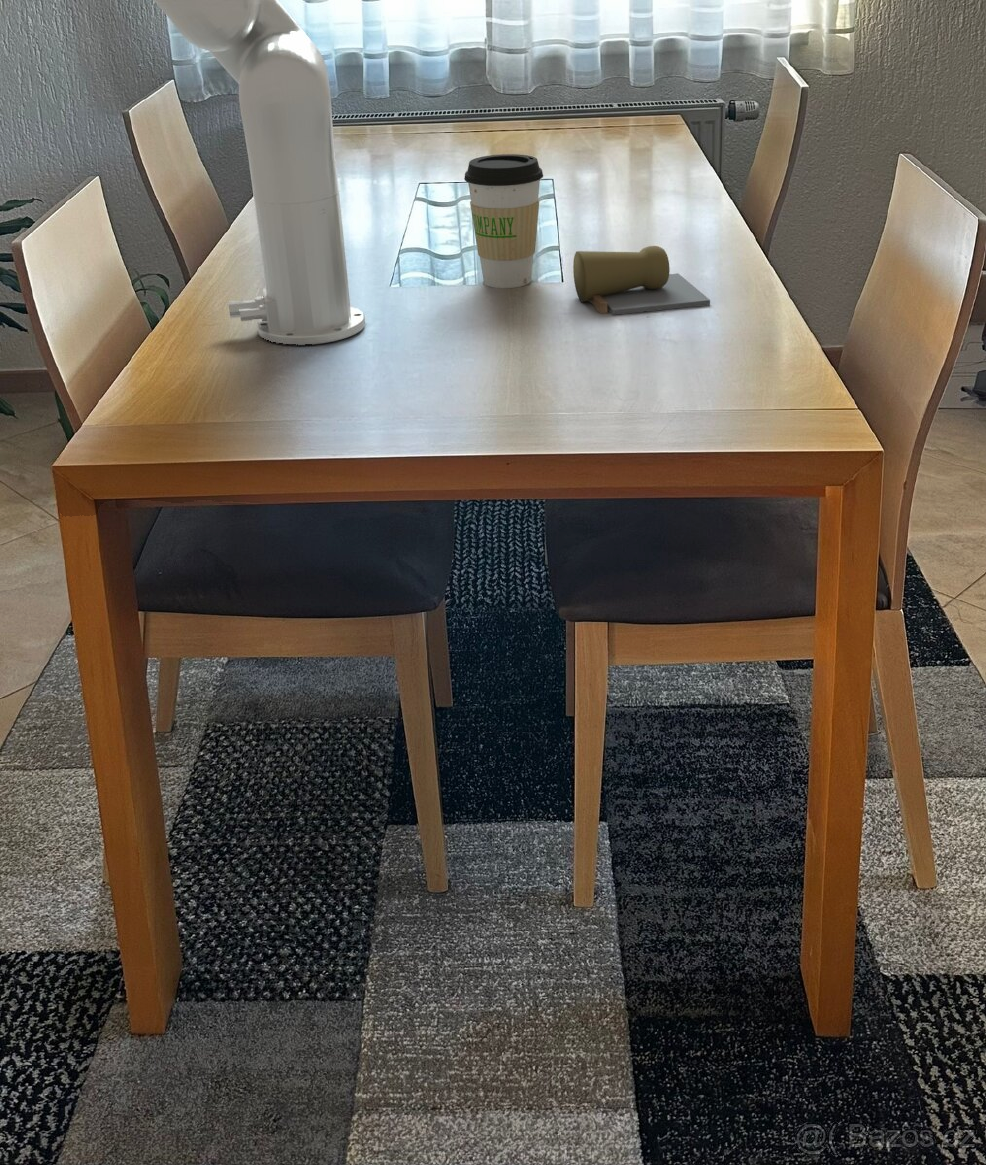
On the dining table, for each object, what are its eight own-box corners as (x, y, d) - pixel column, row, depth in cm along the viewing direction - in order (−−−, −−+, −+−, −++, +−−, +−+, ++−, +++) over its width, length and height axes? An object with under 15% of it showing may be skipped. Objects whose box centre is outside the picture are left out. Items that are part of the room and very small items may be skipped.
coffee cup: (460, 275, 169) (453, 157, 162) (530, 266, 171) (527, 150, 164) (482, 296, 161) (476, 172, 153) (556, 286, 163) (554, 164, 156)
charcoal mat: (612, 314, 152) (612, 309, 152) (586, 286, 162) (586, 282, 162) (709, 304, 154) (710, 300, 153) (678, 277, 164) (678, 273, 164)
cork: (577, 306, 159) (663, 295, 160) (588, 296, 153) (677, 285, 154) (570, 257, 159) (656, 247, 160) (581, 245, 153) (670, 235, 154)
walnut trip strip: (600, 313, 152) (600, 303, 152) (579, 290, 161) (579, 280, 160) (607, 312, 153) (607, 302, 152) (585, 289, 161) (585, 280, 161)
